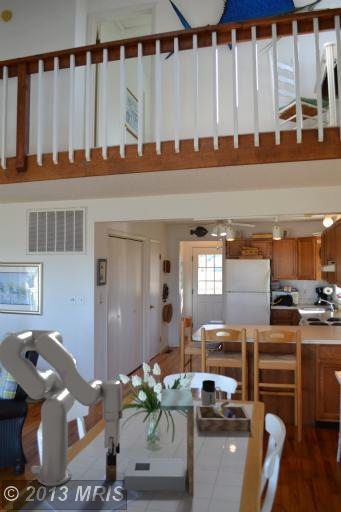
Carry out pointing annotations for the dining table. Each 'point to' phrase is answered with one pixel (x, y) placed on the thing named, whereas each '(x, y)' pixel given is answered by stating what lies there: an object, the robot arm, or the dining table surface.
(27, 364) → the robot arm
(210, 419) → the display tray
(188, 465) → the glass-topped wooden stand
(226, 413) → the fish sculpture
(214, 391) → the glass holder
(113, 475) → the peg
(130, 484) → the socket block
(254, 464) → the dining table surface
